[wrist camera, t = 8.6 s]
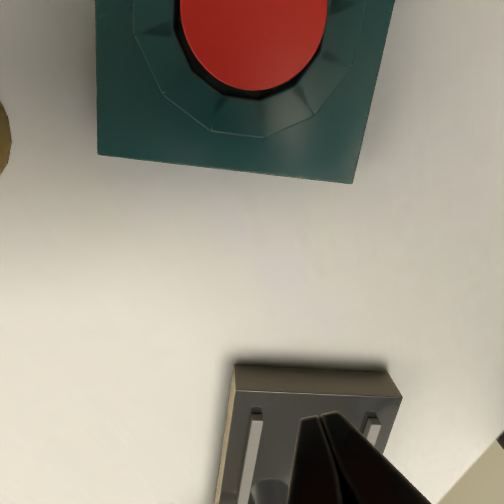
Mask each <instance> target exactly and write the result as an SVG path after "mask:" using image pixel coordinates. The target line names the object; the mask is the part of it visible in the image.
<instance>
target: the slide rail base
mask: <svg viewBox="0 0 504 504" xmlns="http://www.w3.org/2000/svg"><path fill="white" fill-rule="evenodd" d="M402 398H403V397H402V395H401V393H400V392H399V390H398V388H397V387H396V385H395V383H394V382H393V380H392V378H391V377H390V375H389V373H385V372H366V371H347V370H328V369H309V368H290V367H271V366H251V365H234V368H233V375H232V382H231V390H230V397H229V404H228V411H227V418H226V425H225V432H224V439H223V446H222V453H221V460H220V467H219V474H218V482H217V489H216V496H215V503H214V504H286V502H287V495H288V489H289V483H290V477H291V470H292V464H293V458H294V452H295V445H296V439H297V433H298V426H299V421H300V419H301V418H305V417H309V416H314V415H317V416H319V418H320V415H321V414H324V413H328V412H333V411H338V412H340V413H341V414H342V415H343V416H344V417H345V418H346V419H347V420H348V421H349V422H350V423H351V424H352V425H353V426H354V427H355V428H356V429H357V430H358V431H359V432H360V433H361V434H362V435H363V436H364V437H365V438H366V439H367V440H368V441H369V442H370V443H371V444H372V445H373V446H374V447H375V448H376V449H377V450H378V451H379V452H380V453H381V454H383V452H384V449H385V446H386V443H387V440H388V438H389V435H390V432H391V429H392V426H393V423H394V421H395V418H396V415H397V412H398V409H399V406H400V404H401V401H402Z"/></svg>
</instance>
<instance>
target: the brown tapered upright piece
mask: <svg viewBox="0 0 504 504" xmlns="http://www.w3.org/2000/svg"><path fill="white" fill-rule="evenodd" d="M11 142H12V141H11V135H10V129H9V123H8V117H7V115H6V113H5V111H4V109H3V107H2V105H1V103H0V175H1V173H2V172H3V170H4V168H5V167H6V165H7V163H8V159H9V153H10V147H11Z"/></svg>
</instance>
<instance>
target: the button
mask: <svg viewBox="0 0 504 504" xmlns="http://www.w3.org/2000/svg"><path fill="white" fill-rule="evenodd" d="M180 14H181V22H182V26H183V30H184V34H185V36H186V39H187V42H188V44H189V46H190V48H191V50H192V52H193V54H194V55H195V57H196V58H197V60H198V61H199V62H200V63H201V65H202V66H203V67H204V68H205V69H206V70H207V71H208V72H209V73H210V74H211V75H212V76H214V77H215V78H216V79H218V80H219V81H221V82H223V83H225V84H227V85H230V86H232V87H235V88H239V89H244V90H254V91H255V90H265V89H270V88H273V87H276V86H279V85H281V84H283V83H285V82H287V81H289V80H290V79H292V78H293V77H294V76H296V75H297V74H298V73H299V72H300V71H301V70H302V69H303V68H304V67H305V66H306V65H307V64H308V62H309V61H310V60H311V58H312V57H313V55H314V54H315V52H316V50H317V48H318V46H319V44H320V41H321V38H322V36H323V33H324V28H325V24H326V17H327V0H180Z"/></svg>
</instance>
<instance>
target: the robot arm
mask: <svg viewBox="0 0 504 504" xmlns="http://www.w3.org/2000/svg"><path fill="white" fill-rule="evenodd" d="M286 504H431V503H430V502H429V501H428V500H427V499H426V498H425V497H424V496H423V495H422V494H421V493H420V492H419V491H418V490H417V489H416V488H415V487H414V486H413V485H412V484H411V483H410V482H409V481H408V480H407V479H406V478H405V477H404V476H403V475H402V474H401V473H400V472H399V471H398V470H397V469H396V468H395V467H394V466H393V465H392V464H391V463H390V462H389V461H388V460H387V459H386V458H385V457H384V456H383V455H382V454H381V453H380V452H379V451H378V450H377V449H376V448H375V447H374V446H373V445H372V444H371V443H370V442H369V441H368V440H367V439H366V438H365V437H364V436H363V435H362V434H361V433H360V432H359V431H358V430H357V429H356V428H355V427H354V426H353V425H352V424H351V423H350V422H349V421H348V420H347V419H346V418H345V417H344V416H343V415H342V414H341V413H340V412H338V411H333V412H328V413H324V414H321V415H320V418H319V416H317V415H314V416H309V417H305V418H301V419H300V421H299V426H298V433H297V439H296V445H295V452H294V458H293V464H292V470H291V477H290V483H289V489H288V495H287V502H286Z"/></svg>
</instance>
